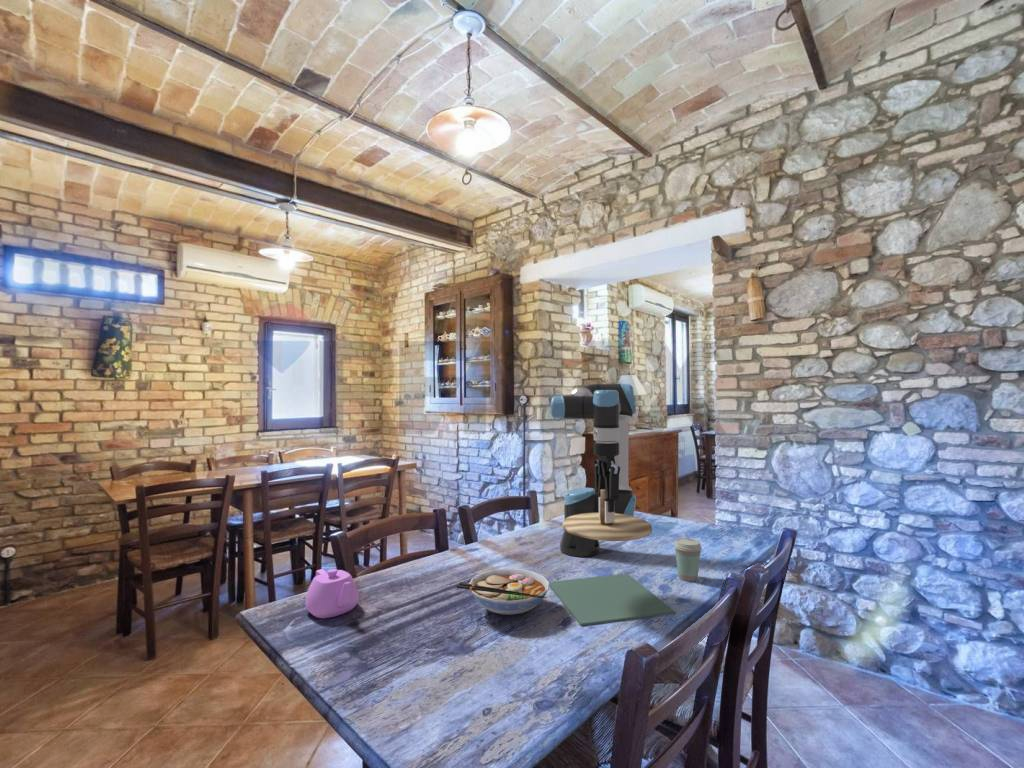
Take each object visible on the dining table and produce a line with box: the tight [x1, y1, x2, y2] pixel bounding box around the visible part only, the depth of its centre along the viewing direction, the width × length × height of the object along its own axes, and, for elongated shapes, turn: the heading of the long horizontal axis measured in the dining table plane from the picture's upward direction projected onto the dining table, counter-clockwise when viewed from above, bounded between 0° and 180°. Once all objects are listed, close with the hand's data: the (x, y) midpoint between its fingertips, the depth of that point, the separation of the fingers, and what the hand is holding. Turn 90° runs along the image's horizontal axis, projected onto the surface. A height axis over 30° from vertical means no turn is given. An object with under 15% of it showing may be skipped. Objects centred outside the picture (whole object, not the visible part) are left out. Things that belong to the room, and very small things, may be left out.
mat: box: [549, 573, 676, 627], centre depth 145 cm, size 28×28×1 cm
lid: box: [562, 489, 653, 542], centre depth 145 cm, size 26×26×11 cm
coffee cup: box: [673, 537, 702, 583], centre depth 160 cm, size 9×8×12 cm
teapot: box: [305, 568, 360, 619], centre depth 138 cm, size 13×20×11 cm
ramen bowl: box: [456, 567, 550, 616], centre depth 138 cm, size 25×23×8 cm
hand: (606, 520), depth 145 cm, fingers closed on lid, 4 cm apart
